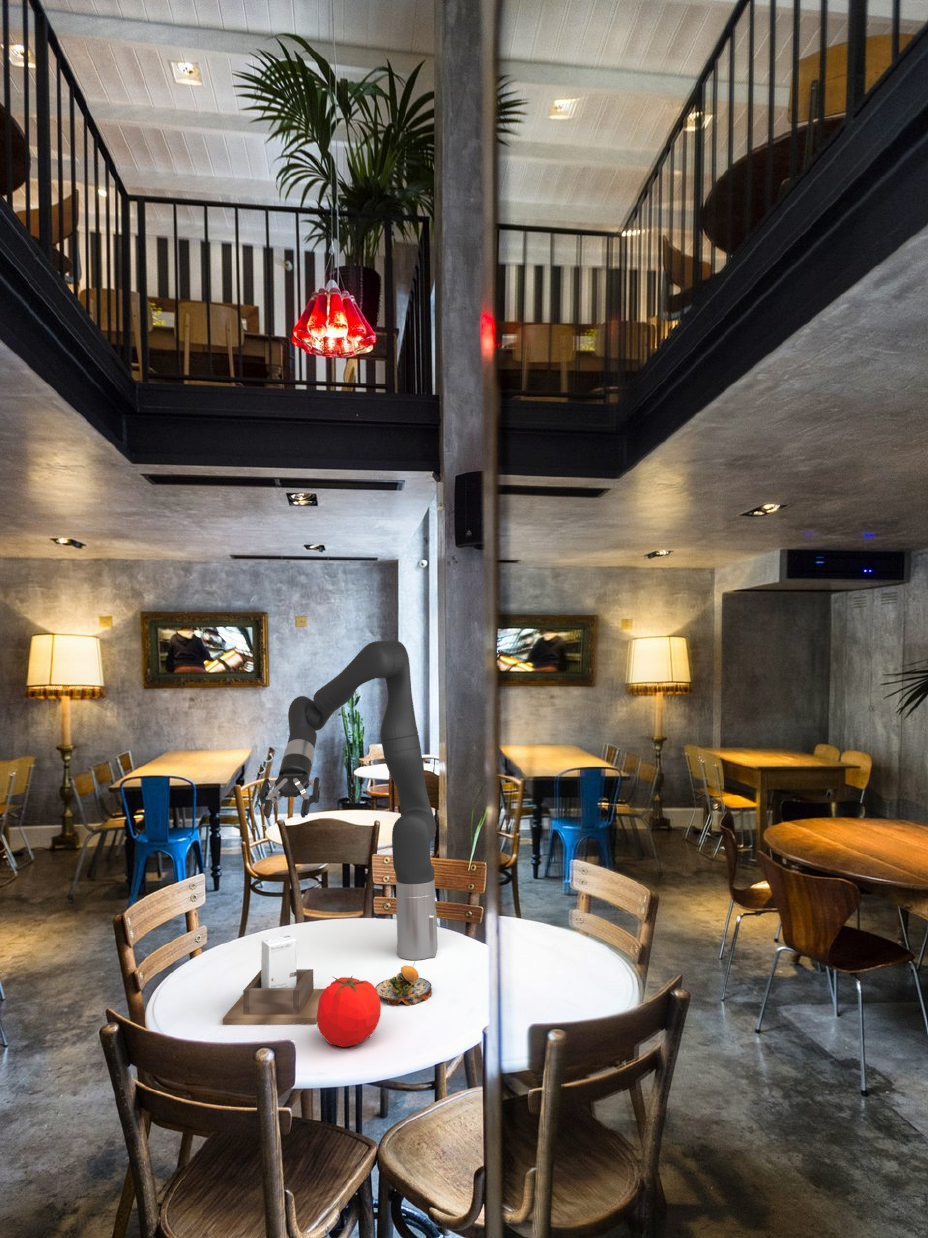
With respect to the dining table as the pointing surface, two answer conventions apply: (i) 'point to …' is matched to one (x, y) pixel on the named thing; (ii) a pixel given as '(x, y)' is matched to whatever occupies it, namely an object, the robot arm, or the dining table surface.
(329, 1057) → the dining table surface
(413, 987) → the plate of food
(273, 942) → the skincare box
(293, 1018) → the sleeve stand
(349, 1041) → the tomato
